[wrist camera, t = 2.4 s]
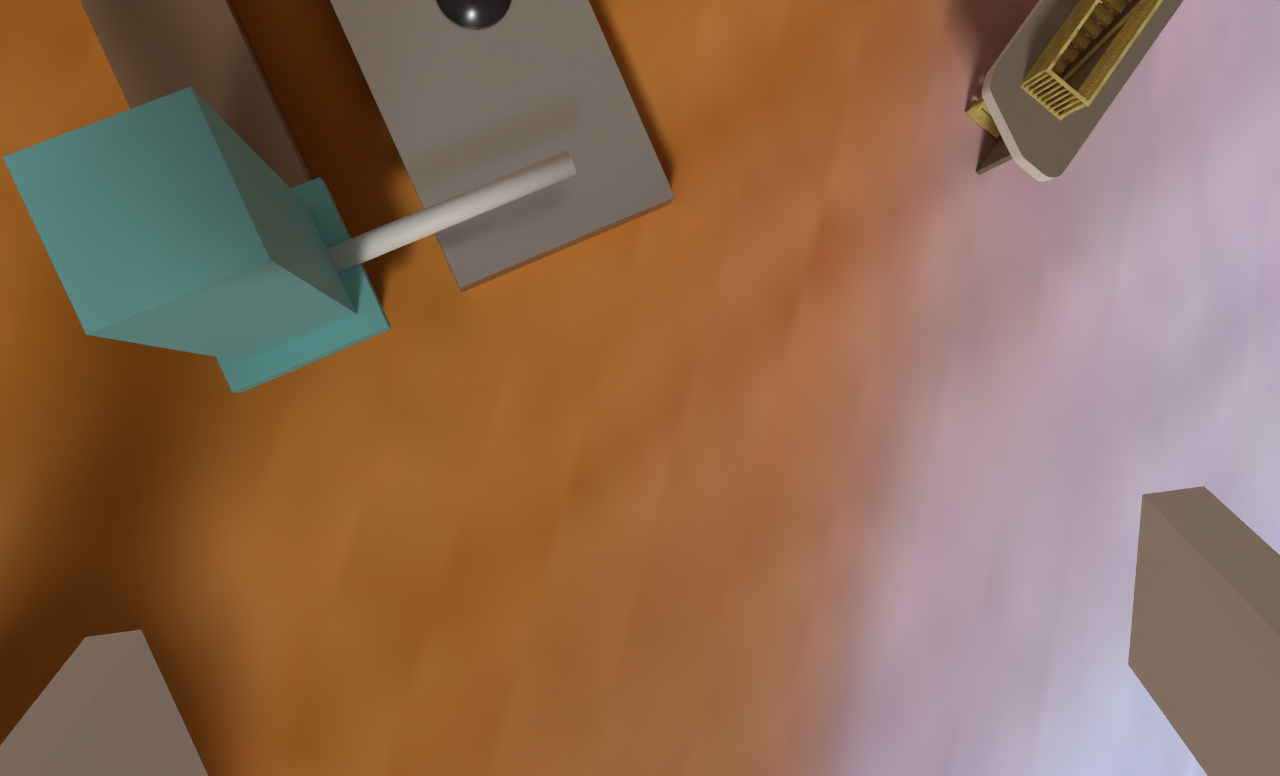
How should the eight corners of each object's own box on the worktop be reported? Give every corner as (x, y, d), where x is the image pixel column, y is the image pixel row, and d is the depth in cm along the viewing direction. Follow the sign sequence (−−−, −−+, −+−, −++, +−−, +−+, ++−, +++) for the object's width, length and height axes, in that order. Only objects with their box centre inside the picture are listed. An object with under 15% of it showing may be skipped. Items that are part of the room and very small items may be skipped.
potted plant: (755, 168, 35) (812, 113, 28) (1022, -194, 37) (1134, -323, 30) (1001, 362, 36) (1109, 353, 30) (1248, 3, 38) (1402, -80, 31)
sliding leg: (537, 100, 31) (558, -90, 19) (599, 240, 31) (659, 138, 19) (172, 245, 29) (-52, 136, 17) (241, 392, 30) (65, 384, 18)
